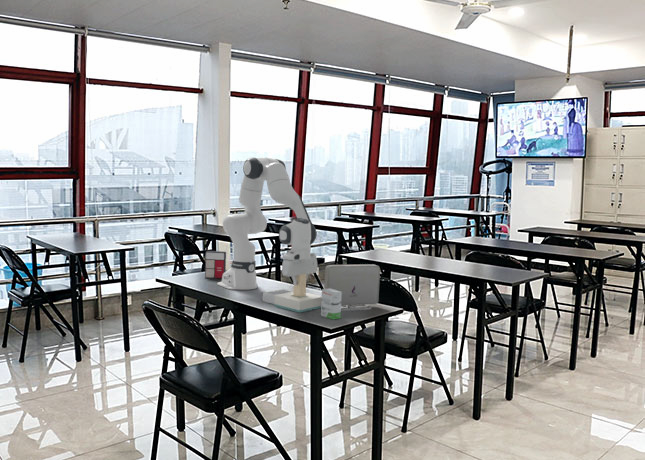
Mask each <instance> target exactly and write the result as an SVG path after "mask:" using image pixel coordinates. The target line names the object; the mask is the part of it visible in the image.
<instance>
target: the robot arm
mask: <svg viewBox="0 0 645 460" xmlns="http://www.w3.org/2000/svg"><path fill="white" fill-rule="evenodd" d="M242 168H243V169H242V170H243V174H244V175H243V177H242V181H241V185H240V190H239V197H238V201H239V203H240V204H241V206H243V208H244V213H232V214H229V215H226V216H225V217H224V219H223V221H222V228H223V231H224V232H225V233H226V234H227V235H228V236H229V238H230V241H231V242H232V246H233V260H231V261H230V262H229V263H231V265H230V268H229V269H227V270H226V271H225V273H223V276H222V279H221V281H217V282H216V283H217V284H216V285H217V286H220V287H222V288H225V289H227V290H241V291H243V290H246V291H247V290H254V289H257V288H258V285H259V284H258V282H257V271H256V265H257V263H256V247H255V245H254V244H253V242H251V241H250V240H249V235H256V234H259V233H260V234H261V233H262V232H264V231H265V230H266V229H267V225H268V221H267V217H266V216H265V215H264V214H263V212H262V210H261V201H262V196H263V195H262V194H263V189H264V184H265V181H266V185H267V190H268V193H269V194H268V195H269V196H270V198H271V199H272V200H273V201H274V202H276V203H277V204H281V205H284V206H286V207H288V208H290V209H291V210H292V211H293V212H294V213H295V216H296V218H294V219H293V220H292V222H290V223H287V224H284V225H282V226H281V227H280V229H279V231H278V239H279V241H280V242H281V243H282V244H283V245H284V246H285V245H286V246H291V248H290V250H289V251H287V252H285V253H283V254H282V258H283V261H282V264H281V265H282V266H281V274H282V276H283V277H287V278H288V277H289V278H290V277H291V279H292V283H293V286H294V285H298V281H297V279H296V278H297V275H301V274H306V281H307V279H308V278H309V275H310V274H315V273H317V272H318V259H317V255H316V253H314V252H311V250H312V249H311V245H312V244H314V242H316V239H317V236H318V233H317V232H318V231H317V229H316V227H315V226H314V223H312V220H311V218H310V215H309V213H308V210H307V209H306V208H307V207H306V205H305V204H304V201H303V199H302V197H301V196H300V195H299V194H298V193H297V192H296V191H295V189H294V188H293V186H292V184H291V179H290V177H289V174H288V172H287V168H286V165H285V162H284V161H283V160H281V159H277V158H269V157H250V158H247V159H246V160H245V161H244V163H243V166H242Z"/></svg>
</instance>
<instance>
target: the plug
mask: <svg viewBox="0 0 645 460" xmlns="http://www.w3.org/2000/svg"><path fill="white" fill-rule="evenodd" d="M296 279H297V281H298V285H293V291H294V292H293V295H295V296H305V295H306V293H307V280H306V274H301V275H297V278H296Z"/></svg>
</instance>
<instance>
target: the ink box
mask: <svg viewBox="0 0 645 460" xmlns="http://www.w3.org/2000/svg"><path fill="white" fill-rule="evenodd" d="M321 296H322V301H321V308H320V316H321V317H324V318H327V319H329V320H337V319H341V318H342V311H341V309H342V306H341V296H342V292H340V291H337V290H334V289H324V288H322V289H321Z"/></svg>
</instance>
